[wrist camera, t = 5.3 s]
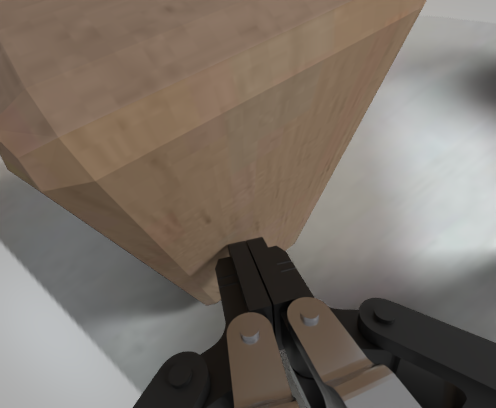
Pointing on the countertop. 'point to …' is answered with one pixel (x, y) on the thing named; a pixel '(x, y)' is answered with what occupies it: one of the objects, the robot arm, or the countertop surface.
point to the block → (190, 115)
